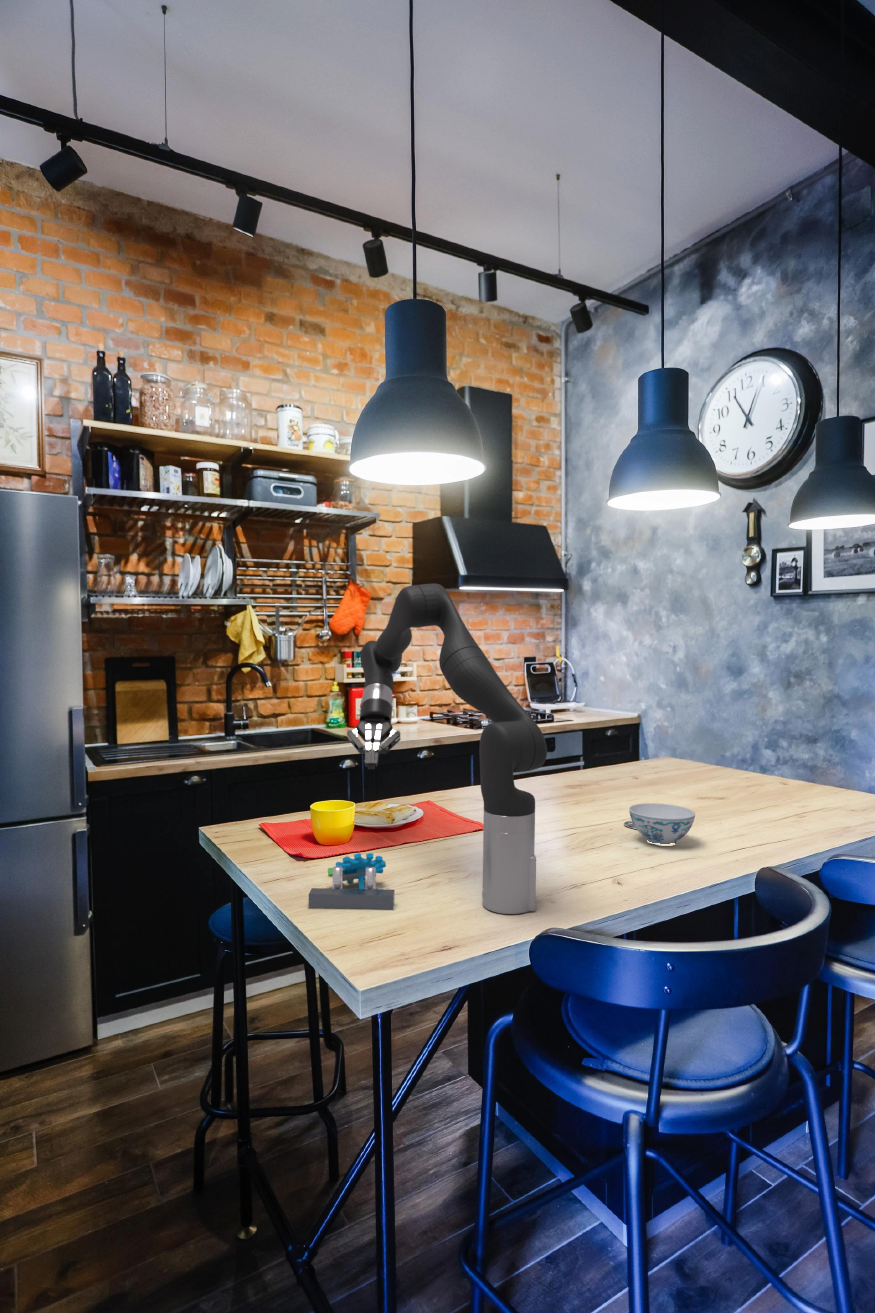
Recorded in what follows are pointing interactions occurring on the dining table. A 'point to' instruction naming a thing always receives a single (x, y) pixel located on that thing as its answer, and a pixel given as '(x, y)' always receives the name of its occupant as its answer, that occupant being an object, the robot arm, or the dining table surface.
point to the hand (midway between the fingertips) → (370, 767)
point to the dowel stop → (352, 894)
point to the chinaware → (661, 821)
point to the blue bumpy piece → (359, 867)
